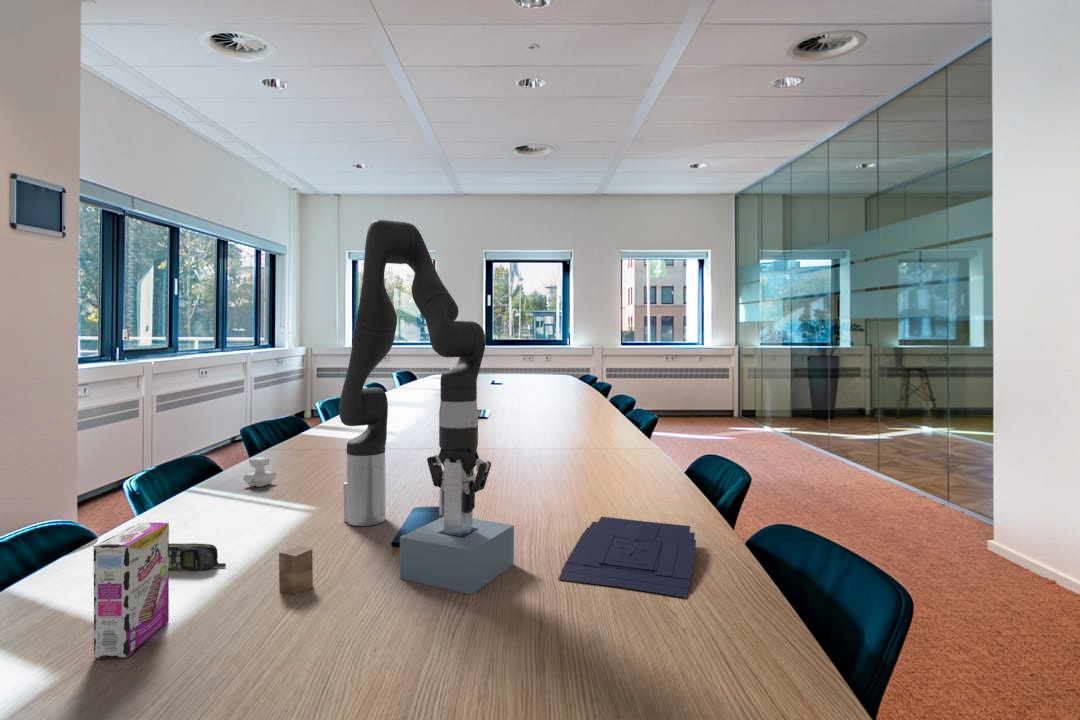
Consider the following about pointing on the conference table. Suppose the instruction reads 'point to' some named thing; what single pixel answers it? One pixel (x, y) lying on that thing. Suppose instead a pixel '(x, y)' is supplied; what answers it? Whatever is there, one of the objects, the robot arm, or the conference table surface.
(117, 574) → the candy bar box
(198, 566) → the mobile phone
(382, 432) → the robot arm
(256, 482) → the stamp
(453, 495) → the long steel pin
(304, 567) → the short walnut pin
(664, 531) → the navy flat slab
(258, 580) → the conference table surface
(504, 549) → the hole block
